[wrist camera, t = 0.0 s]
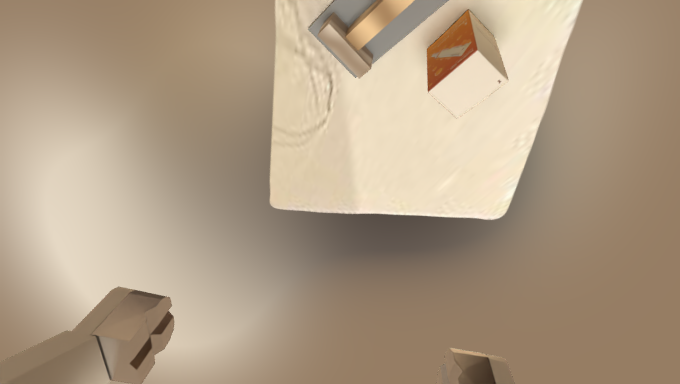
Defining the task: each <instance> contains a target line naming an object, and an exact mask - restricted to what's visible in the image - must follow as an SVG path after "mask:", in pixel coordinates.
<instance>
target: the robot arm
mask: <svg viewBox="0 0 680 384" xmlns="http://www.w3.org/2000/svg"><path fill="white" fill-rule="evenodd" d="M171 306H172V304H171V300H170V297H165V296H161V295H156V294H152V293H147V292H142V291H137V290H132V289H127V288H122V287H117V288H115V289H113V290H111V291H110V292H109V293H108V294H107V295H106V297H105V298H104V299H103V300H102V301H101V302H100V303H99V304H98V305H97V306H96V307H95V308H94V309H93V310H92V311H91V312H90V313H89V314H88V315H87V316H86V317H85V318H84V319H83V320H82V321H81V322H80V323H79V324H78V325H77V326H76V328H75V329H73V331H64V332H62V333H60V334H58V335H56V336H54V337H52V338H50V339H48V340H45V341H43V342H41V343H39V344H37V345H35V346H33V347H31V348H29V349H27V350H24V351H22V352H20V353H18V354H16V355H14V356H12V357H10V358H7V359H5V360H3V361H1V362H0V384H109V383H110V380H112V381H118V382H124V383H131V384H142V382H143V381H144V379H145V378H146V376H147V375H148V373H149V372H150V370H151V369H152V367H153V366H154V364H155V358H154V355H155V354H157V353H159V352H160V351H162V350H163V349H165V347H166V345H167V344H168V342H169V340H170V338H171V335H172V332H173V330H174V329H173V328H174V317H173V315H172V314H171V313H170V312H169V311H168V310H169V309H170V308H171ZM436 384H515V383H514V380H513V377H512V374H511V371H510V368H509V365H508V362H507V361H506V360H505V358H503V357H498V356H492V355H487V354H483V353H477V352H471V351H466V350H459V349H454V348H449V349H448V350H447V351H446V354H445V364H443V365H441V366H440V368H439V371H438V374H437V382H436Z"/></svg>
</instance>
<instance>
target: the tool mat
mask: <svg viewBox="0 0 680 384" xmlns="http://www.w3.org/2000/svg"><path fill="white" fill-rule="evenodd" d="M375 1H376V0H334V1H333V2H332V3H331V5H330V6H329V7H328V8H327V9H326V10H325V11H324V12H323V13H322V14H321V15H320V16H319V17H318V18H317V20H316V21H315V22H314V23H313V24H312V25H311V26H310V27H309V28H308V30H309V31H310V32H311V33H312V34H313V35H314V36H315V37H316V38H317V39H318V40H319V41H320V42H321V43H322V44H323V45H324V46H325V47H326V48H327V49H328V50H329V51H330V52H331V53H332V54H333V56H334V57H335V58H336V59H337V60H338V61H339V62H340V63H341V64H342V65H343V66H344V67H345V68H346V69H347V70H348V71H349V72H350V73H351V74H352V75H353V76H354V77H355V78H356V77H357V76H356V75H355V74H354V73H353V72H352V71H351V70H350V69H349V68H348V67H347V65H346V64H345V63H344V62H343V61H342V60H341V59H340V58H339V57H338V56H337V55H336V54H335V53H334V52H333V51H332V50H331V49H330V48H329V47H328V46H327V45H326V44H325V43H324V42H323V41H322V40H321V39H320V38H319V37H318V36H317V35H318V33H319V31H320V29H321V27H322V24H323V23H324V22H325V21H326V20H327V19H328V18H329V17H330V16H331V14H332V13H333V12H335V13H336V15H337V16H338V17H339V18H340V19H341V20H342V21H343V22H344V23H345V24H346V26H347V27H349V26H350V25H351V24H352V23H353V22H354V21H356V20H357V19H358V18H359V17H360V16H361V15H362V14H363V13H364V12H365V11H366V10H367V9H368V8H369V7H370V6H371V5H372V4H373V3H374V2H375ZM447 1H449V0H415V1H413V2H412V3H411V4H410V5H409V6H408V7H407V8H406V9H405V10H403V11H402V12H401V13H400V14H399V15H398V16H397V17H396V18H394V19H393V20H392V21H391V22H390V23H389V24H388V25H387V26H385V27H384V28H383V29H382V30H381V31H380V32H379V33H378V34H376V35H375V36H374V37H373V38H372V39H371V40H370V41H369V42H368V43H366V44H365V46H366V48H367V49H368V50H369V51H370V52H371V53H372V54H373V61H372V64H373V63H374V62H375V61H377V60H378V59H379V58H380V57H381V56H383V55H384V54H385V53H386V52H387V51H389V50H390V49H391V48H392V47H393V46H395V45H396V44H397V43H398V42H399V41H401V40H402V39H403V38H404V37H405V36H407V35H408V34H409V33H410V32H411V31H413V30H414V29H415V28H416V27H417V26H419V25H420V24H421V23H422V22H423V21H425V20H426V19H427V18H428V17H429V16H431V15H432V14H433V13H434V12H435V11H437V10H438V9H439V8H440V7H441V6H443V5H444V4H445V3H446V2H447Z"/></svg>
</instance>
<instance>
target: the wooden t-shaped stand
mask: <svg viewBox="0 0 680 384" xmlns="http://www.w3.org/2000/svg"><path fill="white" fill-rule="evenodd" d="M413 1H415V0H376V1H375V2H374V3H373V4H372V5H371V6H370V7H369V8H368V9H367V10H366V11H365V12H364V13H363V14H362V15H361V16H360V17H359V18H358V19H357V20H356V21H354V22H353V23H352V24H351V25H350V26H349V27H347V26H346V24H345V23H344V22H343V21H342V20H341V19H340V18H339V17H338V16H337V15H336V13H335V12H333V13H332V14H331V16H330V17H329V18H328V19H327V20H326V21H325V22H324V23H323V24H322V27H321V29H320V31H319V33H318V35H317V36H318V37H319V38H320V39H321V40H322V41H323V42H324V43H325V44H326V45H327V46H328V47H329V48H330V49H331V50H332V51H333V52H334V53H335V54H336V55H337V56H338V57H339V58H340V59H341V60H342V61H343V62H344V63H345V64H346V65H347V67H348V68H349V69H350V70H351V71H352V72H353V73H354V74H355V75H356V76H357V77H358V78H360V77H362V76H363V75H364V74H365V73H366V72H368V71H369V70H370V69H371V66H372V61H373V54H372V53H371V52H370V51H369V50H368V49H367V48H366V46H365V44H366V43H368V42H369V41H370V40H371V39H372V38H373V37H374V36H375V35H376V34H378V33H379V32H380V31H381V30H382V29H383V28H384V27H385V26H387V25H388V24H389V23H390V22H391V21H392V20H393V19H394V18H396V17H397V16H398V15H399V14H400V13H401V12H402V11H403V10H405V9H406V8H407V7H408V6H409V5H410V4H411V3H412V2H413Z"/></svg>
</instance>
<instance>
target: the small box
mask: <svg viewBox="0 0 680 384" xmlns="http://www.w3.org/2000/svg"><path fill="white" fill-rule="evenodd" d="M427 75H428V93H429V94H430V95H431V96H432V97H434V98H435V99H436V100H437V101H438V102H439V103H440V104H441V105H442V106H443V107H445V108H446V109H447V110H448V111H449V112H450V113H451V114H452V115H453V116H454V117H455V118H459V117H461V116H462V115H464V114H465V113H466V112H468V111H469V110H471V109H472V108H473V107H475V106H476V105H478V104H479V103H481V102H482V101H484V100H485V99H486V98H487V97H489V96H490V95H491V94H492V93H494V92H495V91H496V90H498V89H499V88H500V87H501V86H503V85H504V84H506V83H507V82H508V81H509V80H508V77H507V73H506V70H505V67H504V65H503V61H502V58H501V55H500V52H499V49H498V46H497V43H496V40H495V38H494V36H493V35H492V34H491V33H490V32H489V31H488V30H487V29H486V28H485V27H484V26H483V25H482V24H481V22H480V21H479V20H478V19H477V18H476V17H475V16H474V15H473V14H472V13H471V12H470V10H467V11H466V12H465V13H464V14H463V15H462V16H461V17H460V18H459V19H458V20H457V21H456V22H455V23H454V24H453V25H452V26H451V27H450V28H449V29H448V30H447V31H446V32H445V33H444V34H443V35H442V36H441V37H440V38H439V39H437V40H436V41H435V42H434V43H433V44H432V45H431V46H430V47H429V48H428V49H427Z"/></svg>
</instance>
